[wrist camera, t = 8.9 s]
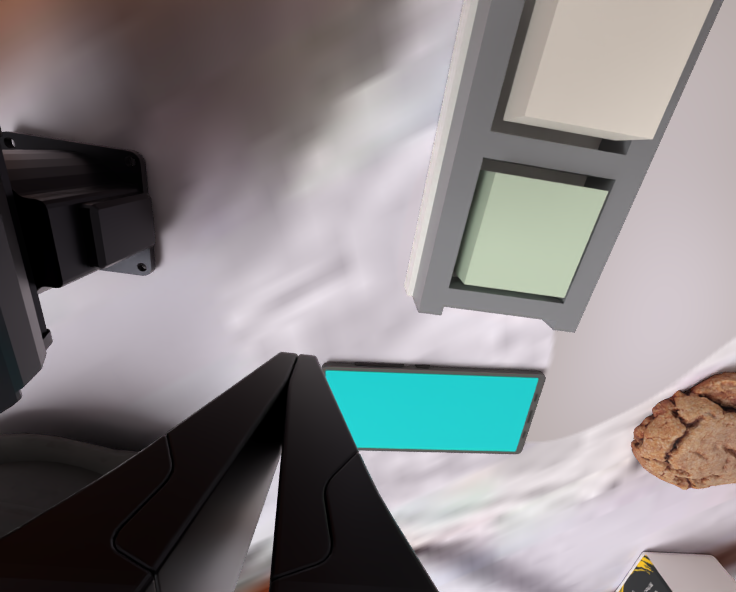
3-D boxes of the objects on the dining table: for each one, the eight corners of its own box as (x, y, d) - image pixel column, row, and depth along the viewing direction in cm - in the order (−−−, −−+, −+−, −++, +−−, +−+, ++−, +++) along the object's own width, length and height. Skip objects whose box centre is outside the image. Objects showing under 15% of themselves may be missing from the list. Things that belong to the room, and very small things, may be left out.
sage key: (543, 282, 18) (564, 298, 16) (453, 270, 18) (464, 284, 16) (580, 186, 16) (608, 191, 14) (480, 169, 16) (495, 172, 14)
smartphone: (521, 454, 26) (320, 449, 25) (516, 445, 26) (321, 440, 26) (547, 373, 23) (321, 365, 22) (541, 366, 23) (322, 357, 23)
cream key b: (615, 140, 14) (652, 139, 13) (502, 120, 14) (524, 116, 12) (674, -8, 12) (729, -35, 11) (545, -36, 12) (579, -70, 10)
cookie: (611, 412, 25) (643, 445, 22) (765, 343, 23) (820, 369, 20) (647, 489, 28) (678, 526, 26) (783, 435, 26) (833, 468, 24)
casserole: (4, 585, 31) (-112, 728, 24) (-145, 435, 24) (-385, 571, 16) (270, 555, 30) (240, 693, 23) (200, 390, 23) (121, 511, 15)
